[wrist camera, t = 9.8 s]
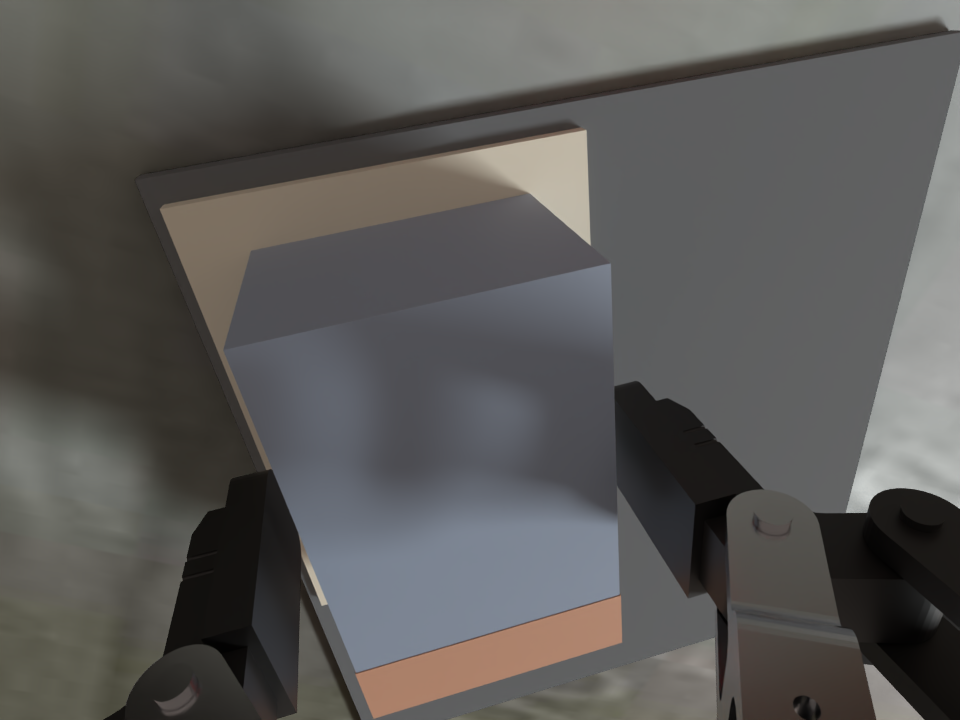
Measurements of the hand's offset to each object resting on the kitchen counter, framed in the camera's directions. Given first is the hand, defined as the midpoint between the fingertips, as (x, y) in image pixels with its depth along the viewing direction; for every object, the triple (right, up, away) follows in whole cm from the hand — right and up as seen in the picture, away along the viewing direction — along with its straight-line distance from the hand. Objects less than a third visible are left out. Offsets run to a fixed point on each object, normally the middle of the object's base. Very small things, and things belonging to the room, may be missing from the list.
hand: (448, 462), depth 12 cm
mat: (+4, -1, +5) cm, 6 cm away
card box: (0, +1, +2) cm, 2 cm away
